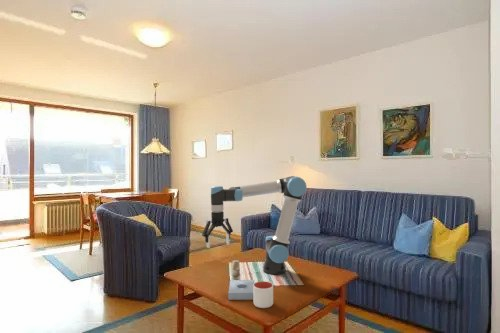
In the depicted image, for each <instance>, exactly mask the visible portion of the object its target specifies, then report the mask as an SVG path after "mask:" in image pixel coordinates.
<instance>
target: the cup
mask: <svg viewBox="0 0 500 333" xmlns="http://www.w3.org/2000/svg"><path fill="white" fill-rule="evenodd" d="M252 300H253V302H252V303H253V305H254V306H255V307H256V308H259V309H268V308H270V307H272V306H273V304H274V284H273V283H272V282H269V281H266V280H265V281H257V282H254V285H253V299H252Z"/></svg>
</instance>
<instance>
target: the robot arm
mask: <svg viewBox="0 0 500 333" xmlns="http://www.w3.org/2000/svg"><path fill="white" fill-rule="evenodd" d="M306 192H307V182H306V181H305V180H304V179H303V178H301V177H300V176H295V175H291V176H287V177H283V178H278V179H277V180H275V181H274V180H273V181H270V182H269V181H267V182H260V183H255V184H248V185H240V186H231V187H229V188H228V189H227V188H226V189H224V187H223V185H214V186H211V187H210V206H211V207H210V210H211V214H210V215H211V219H210V220H209V219H207V220H206V224H205V227H204V229H203V231H202V234H201V236H202V237H204V239H205V240H204V241H205V243H206V248H208V249H210V248H211V240H210V234H211V233H212V231H213V230H214V229H215V228H218V227H222V228H223V230H224V231H225V232H226V233H225V242H226V243H225V244H227V245H230V239H231V234H232V233H233V232H234V230H233V228H232V226H231V223H230V222H229V218H228V217H225V216H224V214H225V213H224V208H225V207H224V202H242V201H243V199H244V198H249V197H254V196H255V197H256V196H261V195H262V196H263V195H269V194H274V193H275V194H277V193H279V194H282V196H283V197H284V202H283V204H282V208H281V211H280V212H281V213H280V215H279V219H278V223H277V227H276V230H275V234H274V235H267V236H266V237H265V260H264V264H263V267H262V270H263V272H264V273H266V274H269V275H281V274H282V275H283V274H284V273H286V272H287V267H286V263H285V262H286V261H287V260H288V258H289V256H290V254H289V249H290V248H289V247H290V245H291V242H290V240H289V238H290V235H291V232H292V227H293V223H294V219H295V216H296V212H297V208H298V204H299V203H300V202H301V201H302V200H303V196H304V194H305V193H306ZM224 223H225V224H224Z"/></svg>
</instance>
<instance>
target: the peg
mask: <svg viewBox="0 0 500 333" xmlns="http://www.w3.org/2000/svg"><path fill="white" fill-rule="evenodd" d="M240 274H241V273H240V260H232V280H240Z"/></svg>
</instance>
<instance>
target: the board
mask: <svg viewBox="0 0 500 333" xmlns="http://www.w3.org/2000/svg"><path fill="white" fill-rule="evenodd" d="M254 283H255V279H239V280H233V279H232V280H229V288H228V295H227V296H228V298H227V299H228V300H230V301H231V300H236V301H237V300H238V301H239V300H241V301H245V300H246V301H248V300H253V285H254Z"/></svg>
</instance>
